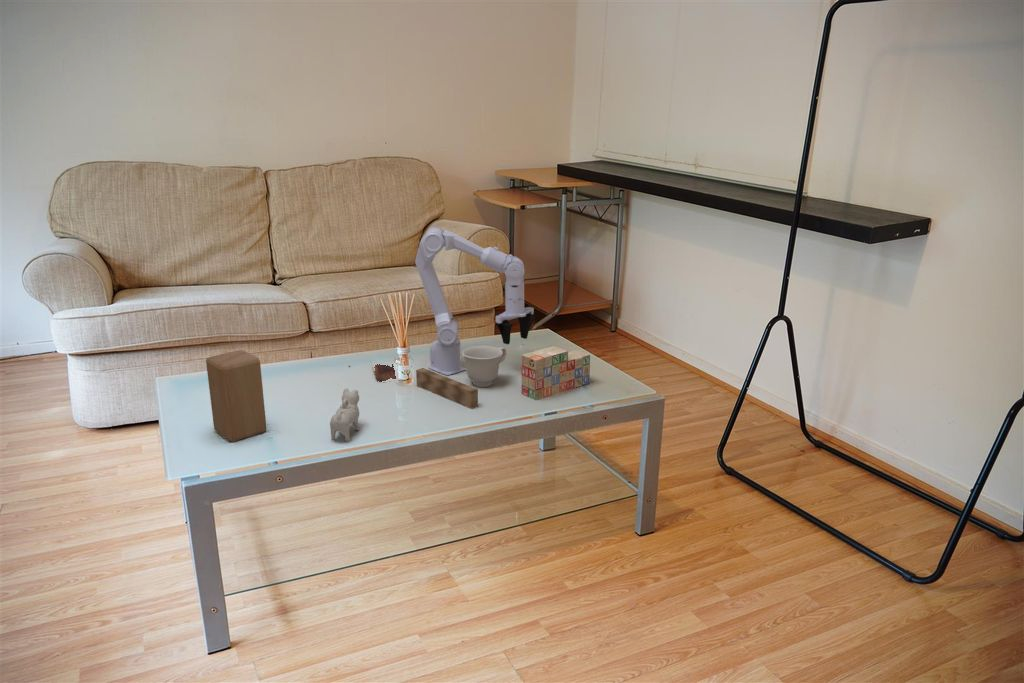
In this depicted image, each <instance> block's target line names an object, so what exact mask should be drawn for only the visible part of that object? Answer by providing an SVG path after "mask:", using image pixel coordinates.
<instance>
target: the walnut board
mask: <svg viewBox="0 0 1024 683" xmlns="http://www.w3.org/2000/svg"><path fill="white" fill-rule="evenodd" d="M415 371H416V373H415V374H416V376H415V377H416V387H418V388H421V389H423V390H426V391H429V392H431V393H432V394H435V395H437V396H439V397H443V398H445V399H447V400H449V401H452V402H454V403H457V404H459V405H461V406H463V407H467V408H468V409H471V410H472V409H474V408H477V407H479V391H478V390H479V388H475V387H472V386H470V385H468V384H466V383H462V382H461V381H459V380H458V381H457V380H455V379H453V378H450V377H448V376H446V375H445V376H444V375H443V374H441V373H437V372H436V371H435V372H434V371H433V370H431V369H430V370H429V369H427V368H424V367H421V368H417V369H416V370H415Z"/></svg>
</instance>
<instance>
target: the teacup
mask: <svg viewBox="0 0 1024 683" xmlns="http://www.w3.org/2000/svg"><path fill="white" fill-rule="evenodd" d="M461 355H462V356H463V357H464V362H465V368H466V370H465V371H466V374H467V377H468V378H469V380H471V381H472V384H473V386H476V387H479V388H485V387H486V386H487V387H490V386H492V384H493V381H494V380H495V379H496V378H497V377H498V375H499V374H498V373H499V369H500V364H501V363H502V362H503V361H504V360H505V359H506V357H507V350H506V348H505V347H504V346H499V347H496V346H492V345H473V346H469V347H468V346H467V347H466V348H464V349H463V350H462V351H461Z"/></svg>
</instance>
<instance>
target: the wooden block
mask: <svg viewBox="0 0 1024 683" xmlns="http://www.w3.org/2000/svg"><path fill="white" fill-rule="evenodd" d="M205 364H206V371H207V372H206V373H207V374H206V375H207V381H208V389H209V395H210V404H211V406H210V407H211V415H212V420H213V421H212V423H213V429H214V432H216V433H217V434H218V435H220V436H222V437H223V438H224V439H226V440H227V441H229V442H236V441H239V440H243V439H246V438H250V437H252V436H256V435H259V434H261V433H265V432H266V431H267V420H266V409H265V408H266V407H265V398H264V388H263V387H264V386H263V377H262V368H261V360H260V358H259V357H257V356H256V355H253V354H252V353H249V352H247V351H245V350H243V349H238V350H235V351H231V352H226V353H221V354H217V355H212V356H209V357H206V359H205Z"/></svg>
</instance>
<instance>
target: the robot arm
mask: <svg viewBox="0 0 1024 683" xmlns="http://www.w3.org/2000/svg"><path fill="white" fill-rule="evenodd" d="M443 248H444V251H450V250H457V251H461V252H463V253H465V254H468V255H469V256H472V257H476V258H477V259H480V263H481V265H483V266H485V267H487V268H490V269H492V270H494V271H496V272H497V273H501V274H505V275H504V276H505V283H504V290H505V291H504V292H505V294H504V295H505V302H504V303H505V305H504V306H505V311H504V312H502V313H500V314H498V315H495V323H494V324H495V325H496V327H497V329H498V331H499V333H500V336H501V339H502V343H503V344H505V345H510V344H511V331H512V327H513V323H511V322H509V321H511V320H513V319H518V323H519V333H520V338H521V339H524V340H526V339H528V336H529V332H530V328H531V326H532V324H533V322H534V320H535V315H534V312H535V311H534V310H535V308H534V307H531V306H527V307H525V283H524V280H525V279H524V278H525V277H524V275H525V272H526V271H525V266H524V262H523V261H522V259H520V258H519V257H518V256H513V254H510V253H509V254H507V253H505V252H502V251H500V250H499V247H496V246H493V247H491V246H489V247H486V248H483V247H482V246H480V245H478V244H476V243H473V242H472V241H470V240H468V239H466V238H464V237H462V236H460V235H458V234H456V233H455V232H451V231H450V230H447V229H443V228H441V227H439V226H432V227H430V228H428V229H427V230H426V232H425V233H424V234H423V237H421V240H420V242H419V243H418V249H417V252H416V255H415V260H414V262H415V266H416V269H417V271H418V274H419V277H420V281H421V283H422V285H423V288H424V291H425V293H426V297H427V299H428V302H429V305H430V308H431V310H432V313H433V316H434V320H435V326H436V329H437V332H436V337H437V338H436V339H435V340H434V341H433V342H432V343H431V345H430V348H429V356H430V357H429V358H430V365H429V366H428V370H429V369H430V370H431V371H433V372H434V371H435V372H436V373H437V372H438V374H441V375H445V376H450V375H454V374H456V373H460V372H464V371H466V366H462V365H461V340H460V338H459V331H460V324H459V322H458V321H457V320H456V319H455V318H454V316H453V314H452V312H451V311H450V309H449V307H448V306H449V305H448V303H447V301H446V298H445V294H444V292H443V288H442V286H441V284H440V281H439V278H438V275H437V272H436V269H435V267H434V264H433V262H434V259H435V257H436V256H437V255H438V254H439V253H440V252H441V251H442V250H443Z"/></svg>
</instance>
